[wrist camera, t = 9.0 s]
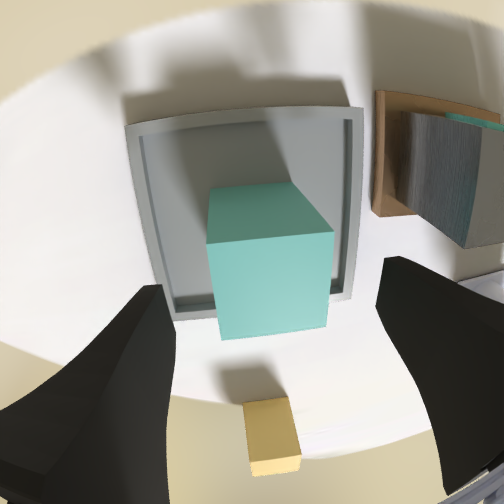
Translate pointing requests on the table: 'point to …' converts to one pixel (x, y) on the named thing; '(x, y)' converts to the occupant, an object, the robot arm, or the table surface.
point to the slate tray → (240, 174)
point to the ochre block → (271, 437)
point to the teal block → (268, 260)
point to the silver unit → (440, 166)
